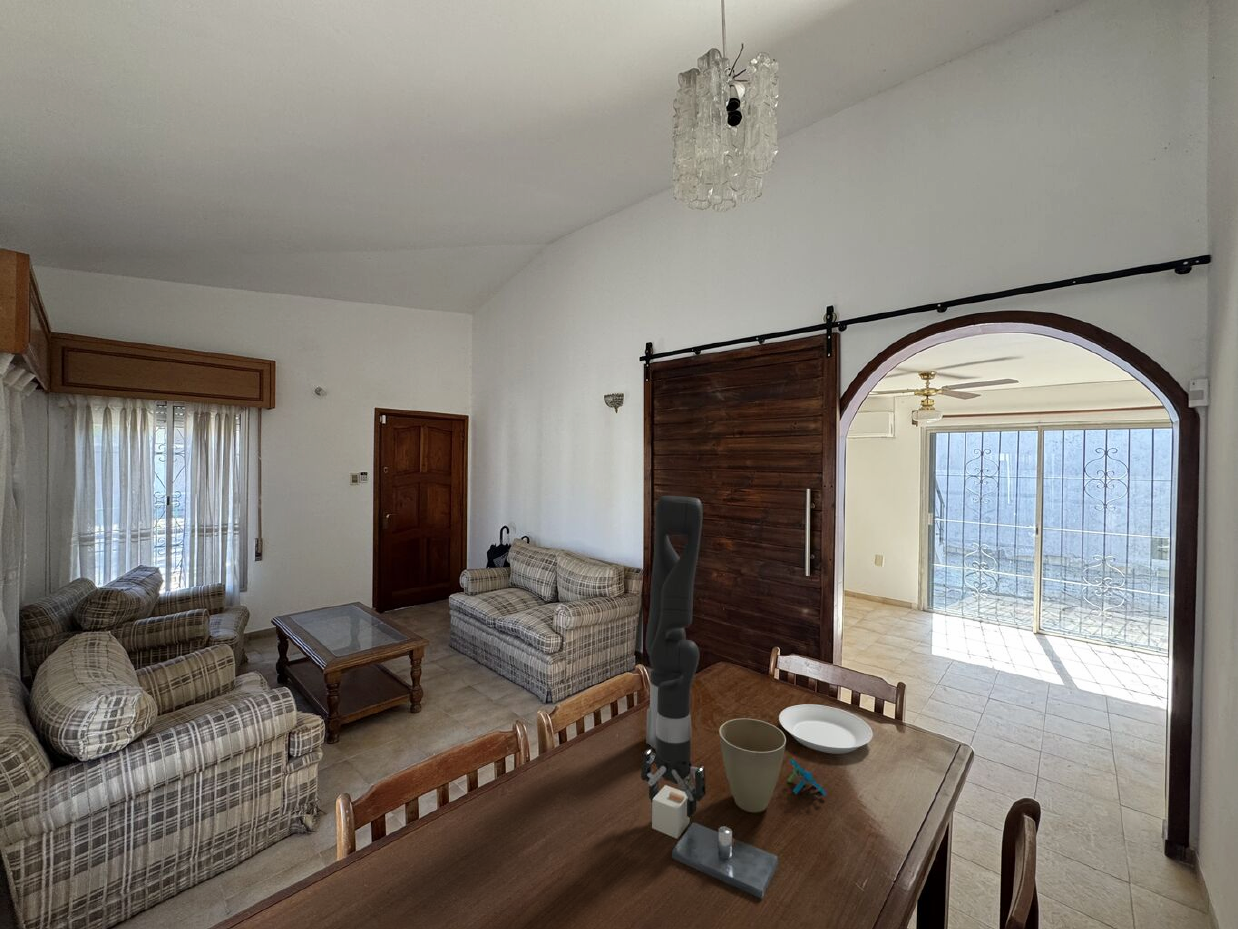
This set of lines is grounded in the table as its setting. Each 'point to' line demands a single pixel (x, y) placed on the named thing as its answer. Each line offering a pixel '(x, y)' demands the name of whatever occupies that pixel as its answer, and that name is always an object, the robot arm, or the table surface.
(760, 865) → the panel
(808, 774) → the gear
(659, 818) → the white and orange block
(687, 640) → the robot arm
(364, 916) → the table surface
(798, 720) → the bowl
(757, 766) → the plant pot
